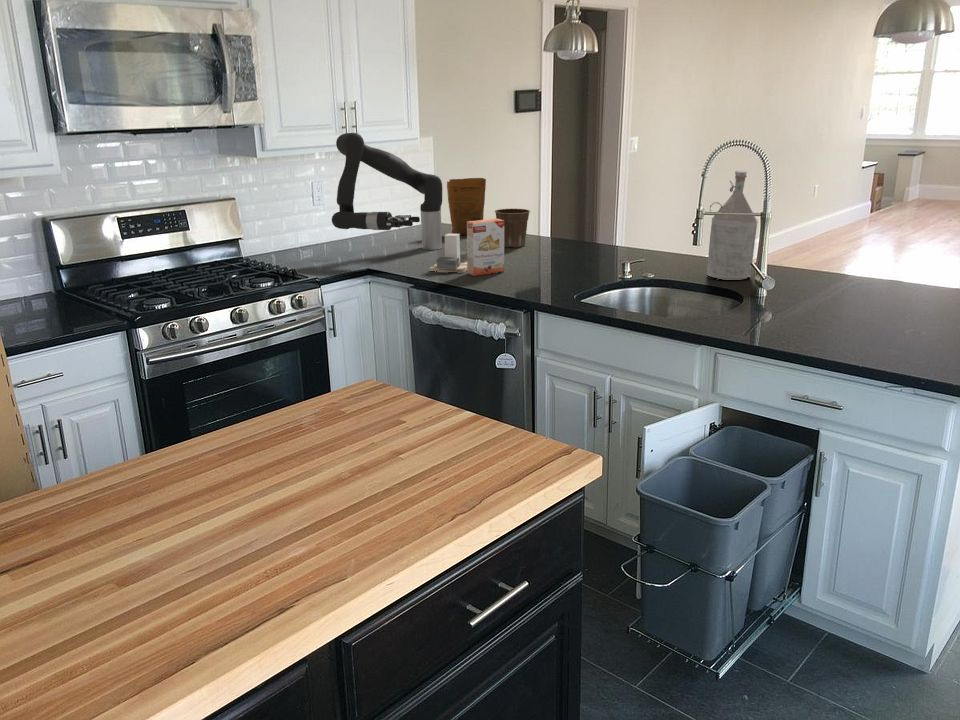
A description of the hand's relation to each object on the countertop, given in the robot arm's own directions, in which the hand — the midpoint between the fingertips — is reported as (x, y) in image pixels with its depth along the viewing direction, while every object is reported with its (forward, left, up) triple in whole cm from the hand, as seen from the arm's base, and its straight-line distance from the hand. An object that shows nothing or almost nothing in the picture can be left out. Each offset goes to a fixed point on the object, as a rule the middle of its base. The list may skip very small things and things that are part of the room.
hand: (415, 221), depth 319 cm
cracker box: (+9, +32, -19) cm, 38 cm away
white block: (+2, +16, -17) cm, 23 cm away
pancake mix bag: (-71, 0, -19) cm, 74 cm away
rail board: (+1, +16, -18) cm, 24 cm away
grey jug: (-3, +124, -19) cm, 125 cm away
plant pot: (-48, +29, -19) cm, 59 cm away
